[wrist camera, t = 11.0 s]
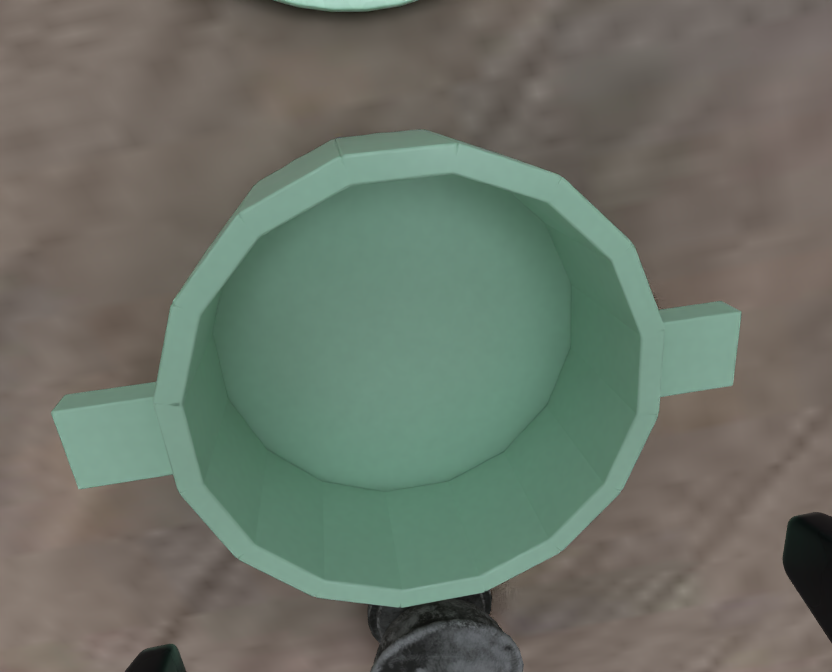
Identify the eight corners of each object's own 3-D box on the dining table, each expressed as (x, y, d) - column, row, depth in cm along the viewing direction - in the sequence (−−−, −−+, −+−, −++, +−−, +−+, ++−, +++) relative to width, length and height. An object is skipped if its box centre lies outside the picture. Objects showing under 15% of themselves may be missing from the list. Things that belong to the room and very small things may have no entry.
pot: (647, 457, 25) (728, 547, 20) (166, 538, 23) (126, 660, 18) (670, 101, 20) (787, 106, 15) (52, 166, 18) (-49, 197, 13)
